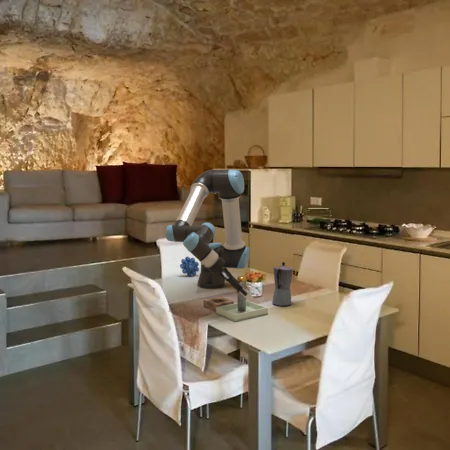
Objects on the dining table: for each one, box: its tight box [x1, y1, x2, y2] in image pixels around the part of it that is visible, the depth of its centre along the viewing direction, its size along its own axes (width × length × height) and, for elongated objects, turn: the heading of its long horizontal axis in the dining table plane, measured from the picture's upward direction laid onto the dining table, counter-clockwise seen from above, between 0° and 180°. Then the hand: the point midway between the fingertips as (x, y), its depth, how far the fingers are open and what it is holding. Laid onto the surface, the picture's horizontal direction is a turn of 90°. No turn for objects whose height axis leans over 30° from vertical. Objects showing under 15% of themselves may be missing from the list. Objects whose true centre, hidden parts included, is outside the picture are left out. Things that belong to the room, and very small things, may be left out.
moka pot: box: [271, 261, 294, 307], centre depth 234 cm, size 10×15×20 cm, turn 161°
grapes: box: [179, 256, 200, 277], centre depth 292 cm, size 12×7×12 cm, turn 109°
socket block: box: [203, 296, 235, 312], centre depth 230 cm, size 10×10×3 cm
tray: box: [215, 300, 269, 323], centre depth 219 cm, size 18×14×3 cm
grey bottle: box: [236, 275, 247, 312], centre depth 218 cm, size 4×4×15 cm
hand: (250, 298), depth 219 cm, fingers closed on grey bottle, 4 cm apart
